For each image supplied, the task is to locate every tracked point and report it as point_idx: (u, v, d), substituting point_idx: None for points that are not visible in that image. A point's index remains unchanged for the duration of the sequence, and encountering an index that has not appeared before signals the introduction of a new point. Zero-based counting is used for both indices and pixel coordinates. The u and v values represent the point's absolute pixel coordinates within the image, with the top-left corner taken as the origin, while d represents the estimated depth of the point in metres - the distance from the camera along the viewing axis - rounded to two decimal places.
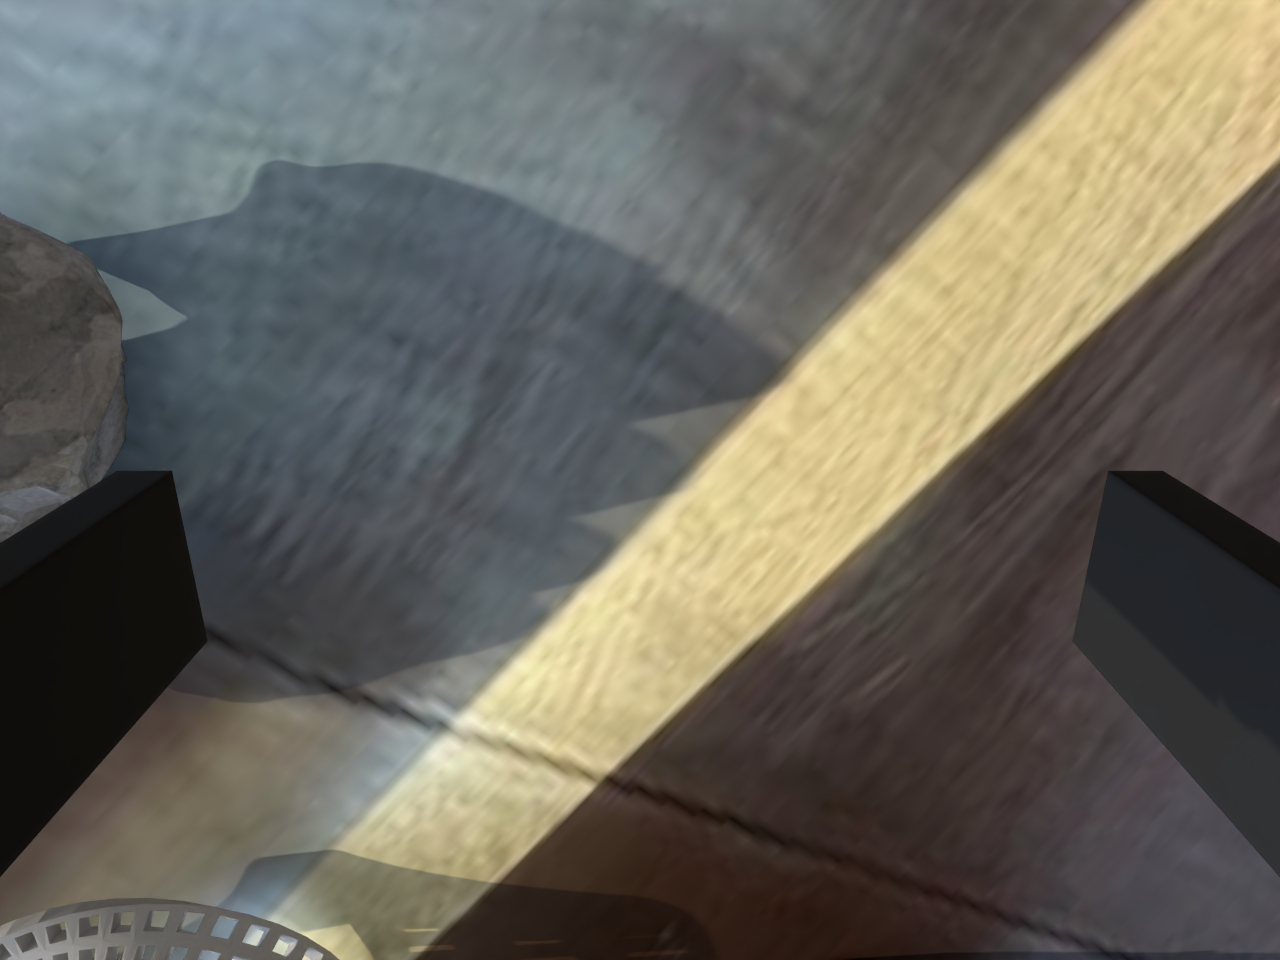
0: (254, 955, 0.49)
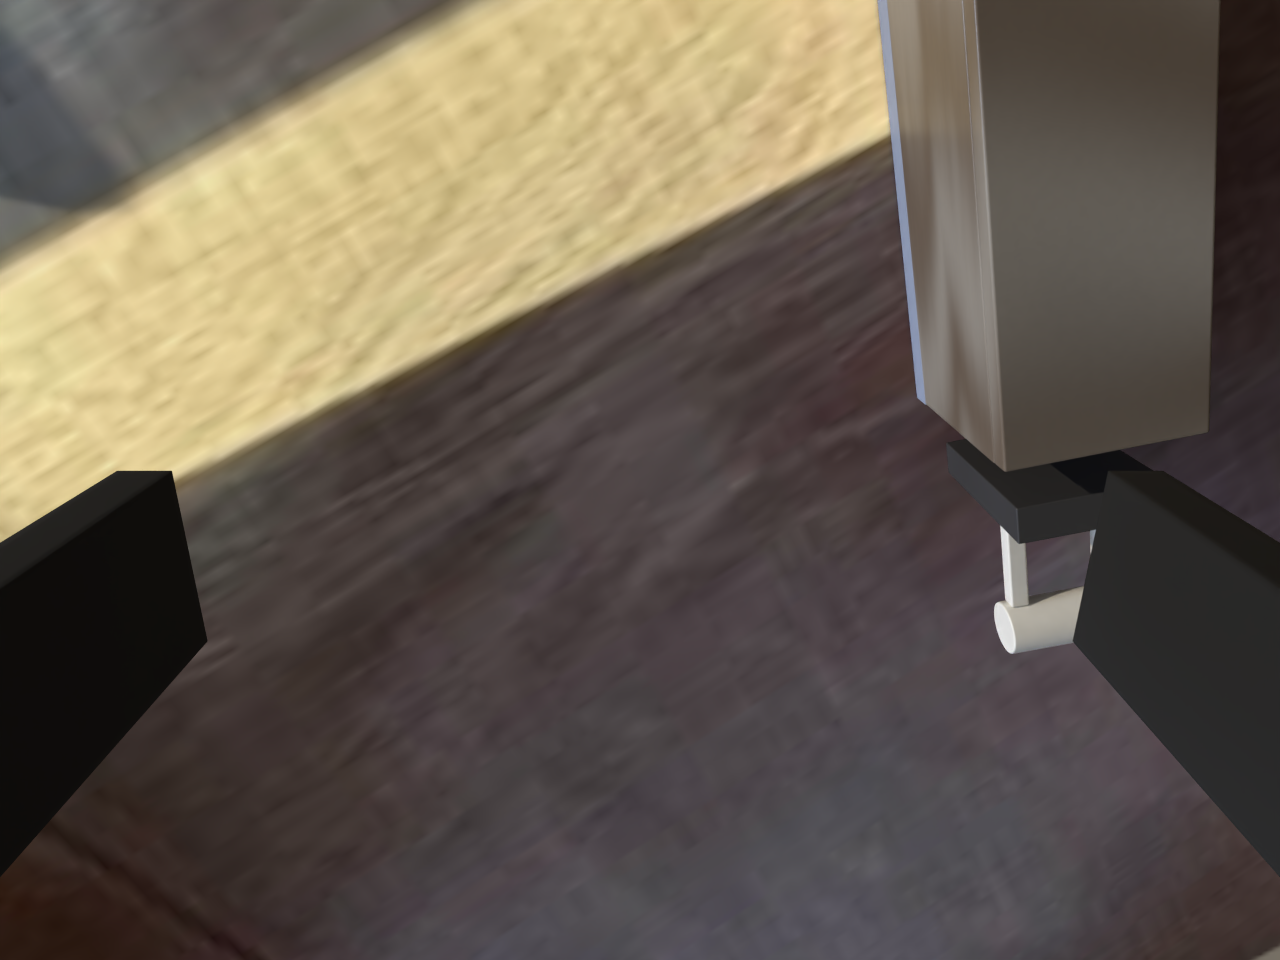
0: None
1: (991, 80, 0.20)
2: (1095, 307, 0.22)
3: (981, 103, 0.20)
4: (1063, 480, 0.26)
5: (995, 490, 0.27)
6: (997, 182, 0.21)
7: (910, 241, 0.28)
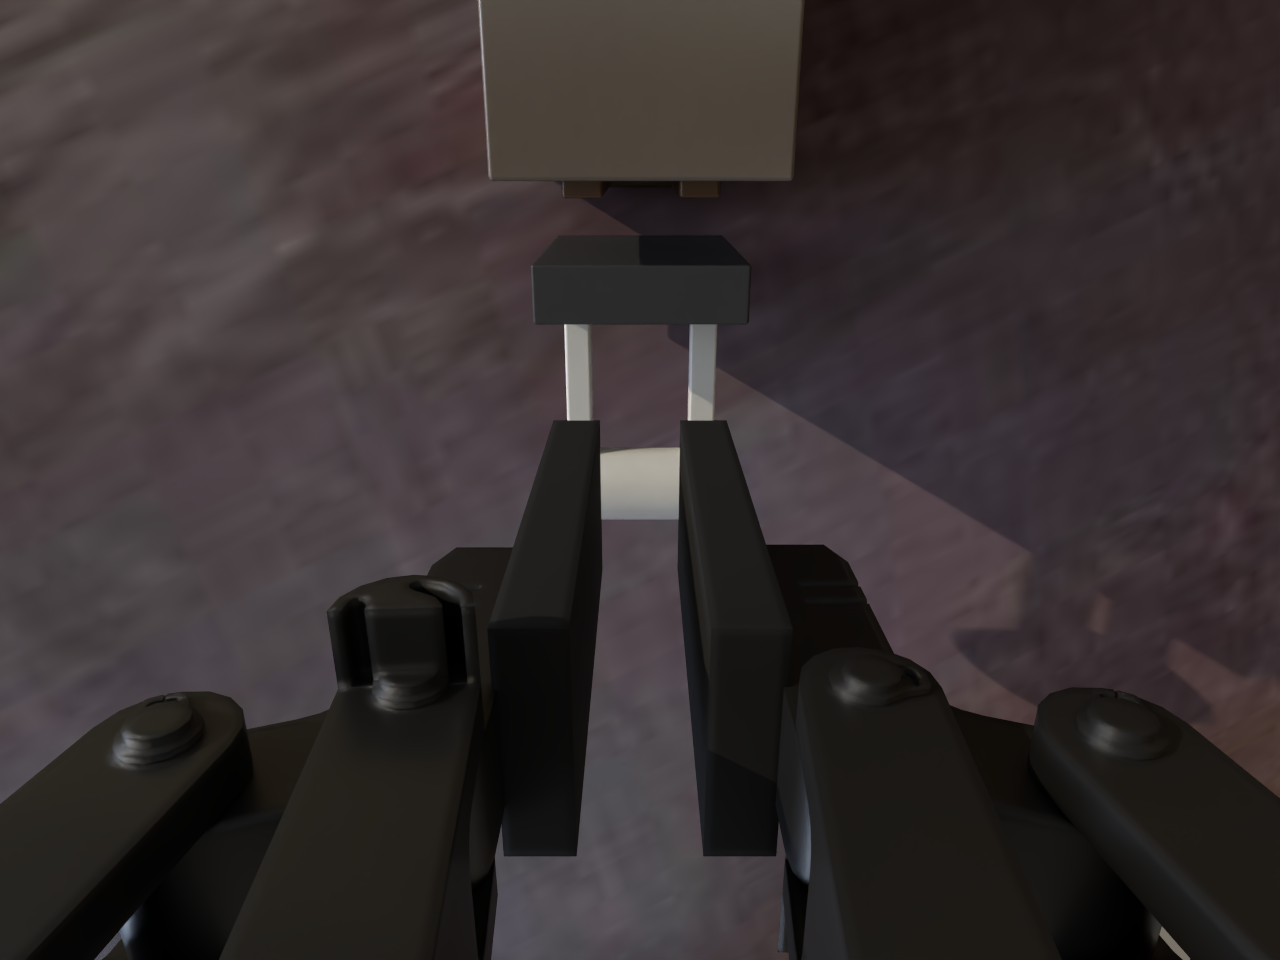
0: None
1: None
2: None
3: None
4: (629, 257, 0.18)
5: (539, 257, 0.19)
6: None
7: None
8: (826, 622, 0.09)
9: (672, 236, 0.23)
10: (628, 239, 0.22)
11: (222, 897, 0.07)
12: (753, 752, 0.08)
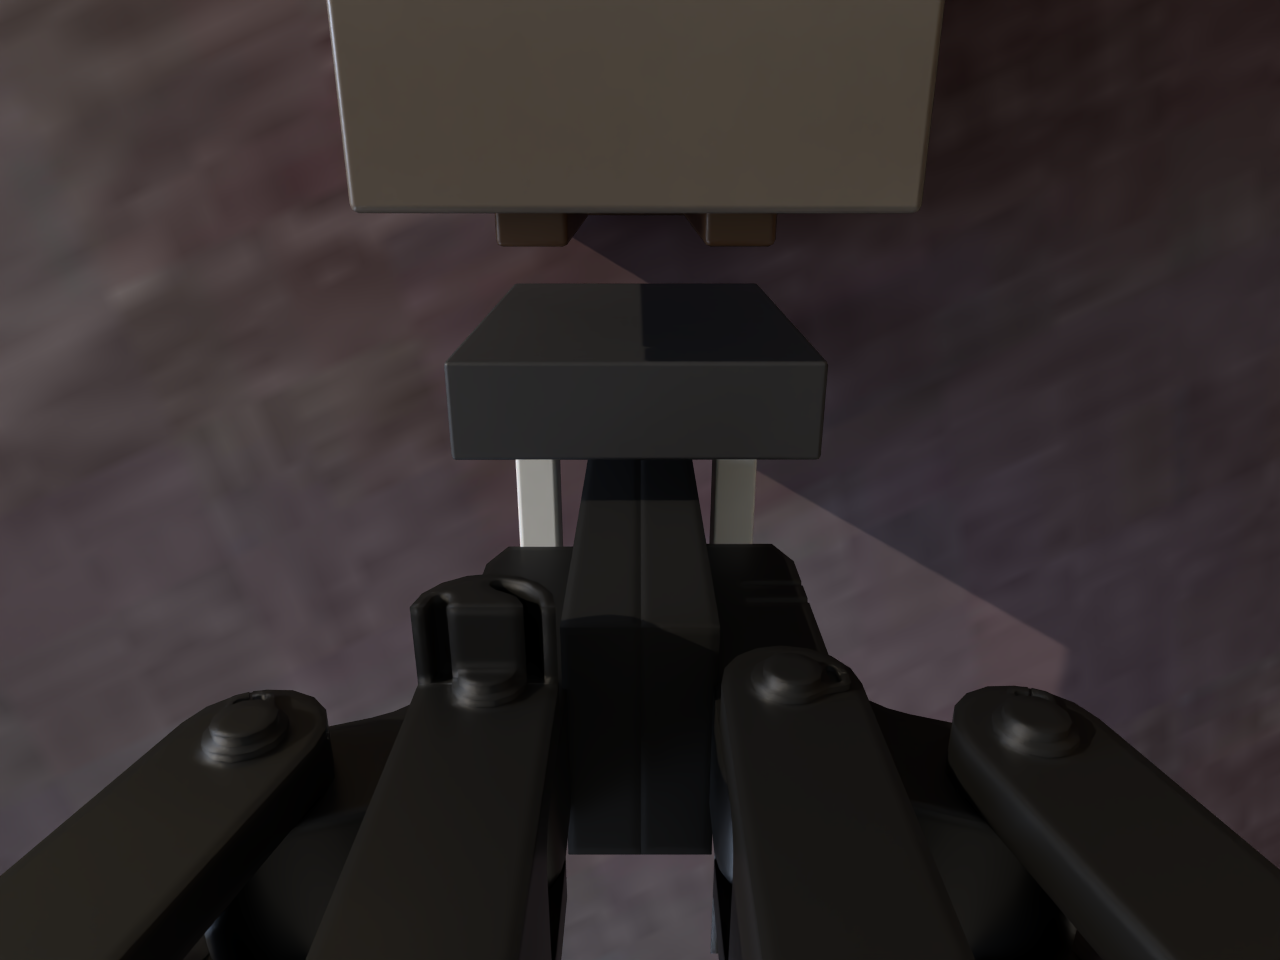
0: None
1: None
2: None
3: None
4: (617, 337, 0.11)
5: (469, 337, 0.11)
6: None
7: None
8: (764, 621, 0.09)
9: (683, 285, 0.15)
10: (618, 292, 0.14)
11: (308, 895, 0.07)
12: (685, 750, 0.08)
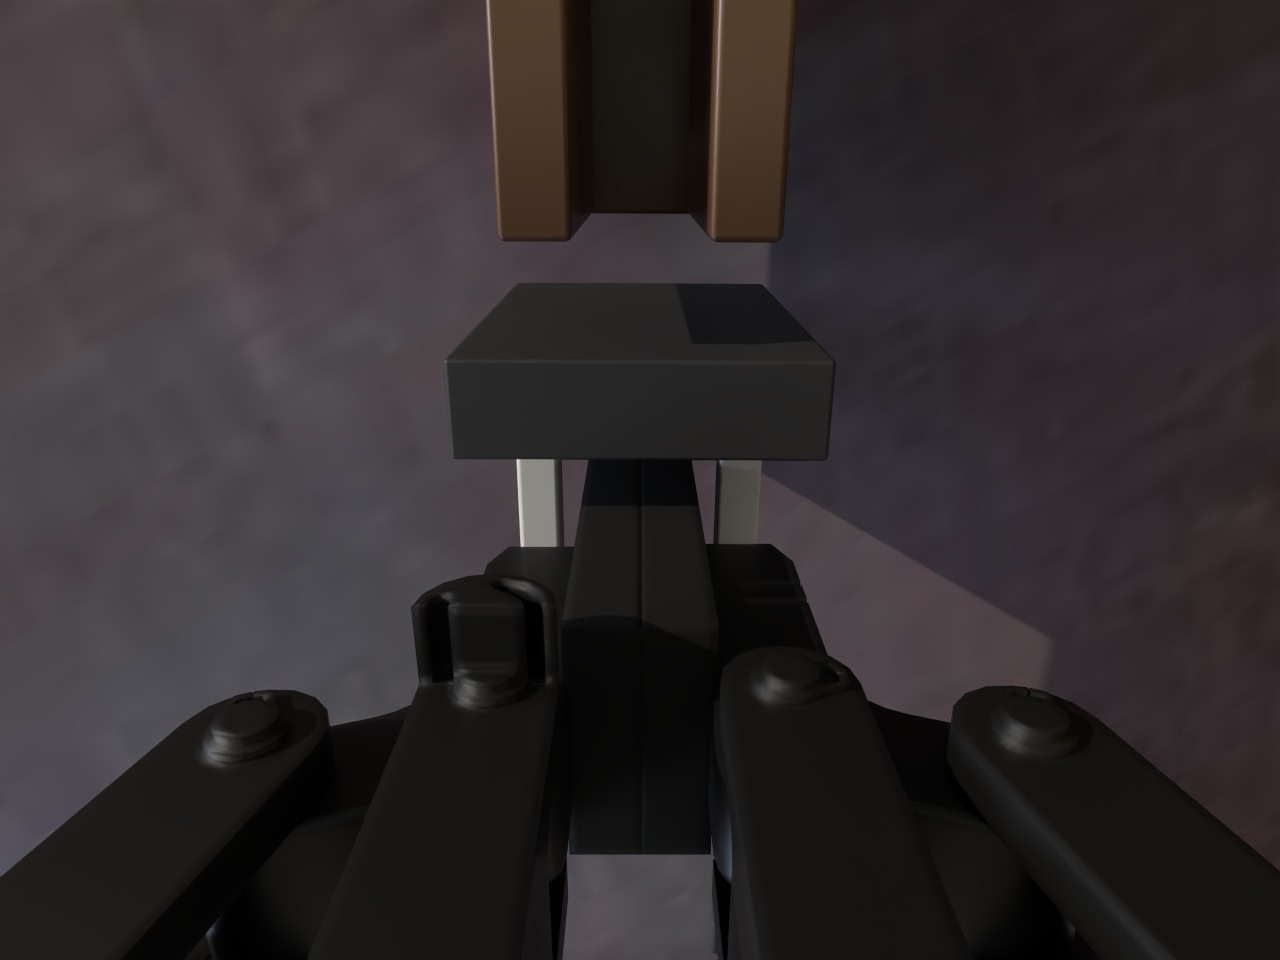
0: None
1: None
2: None
3: None
4: (620, 336, 0.11)
5: (469, 335, 0.11)
6: None
7: None
8: (763, 621, 0.09)
9: (688, 285, 0.15)
10: (621, 292, 0.14)
11: (310, 894, 0.07)
12: (684, 750, 0.08)
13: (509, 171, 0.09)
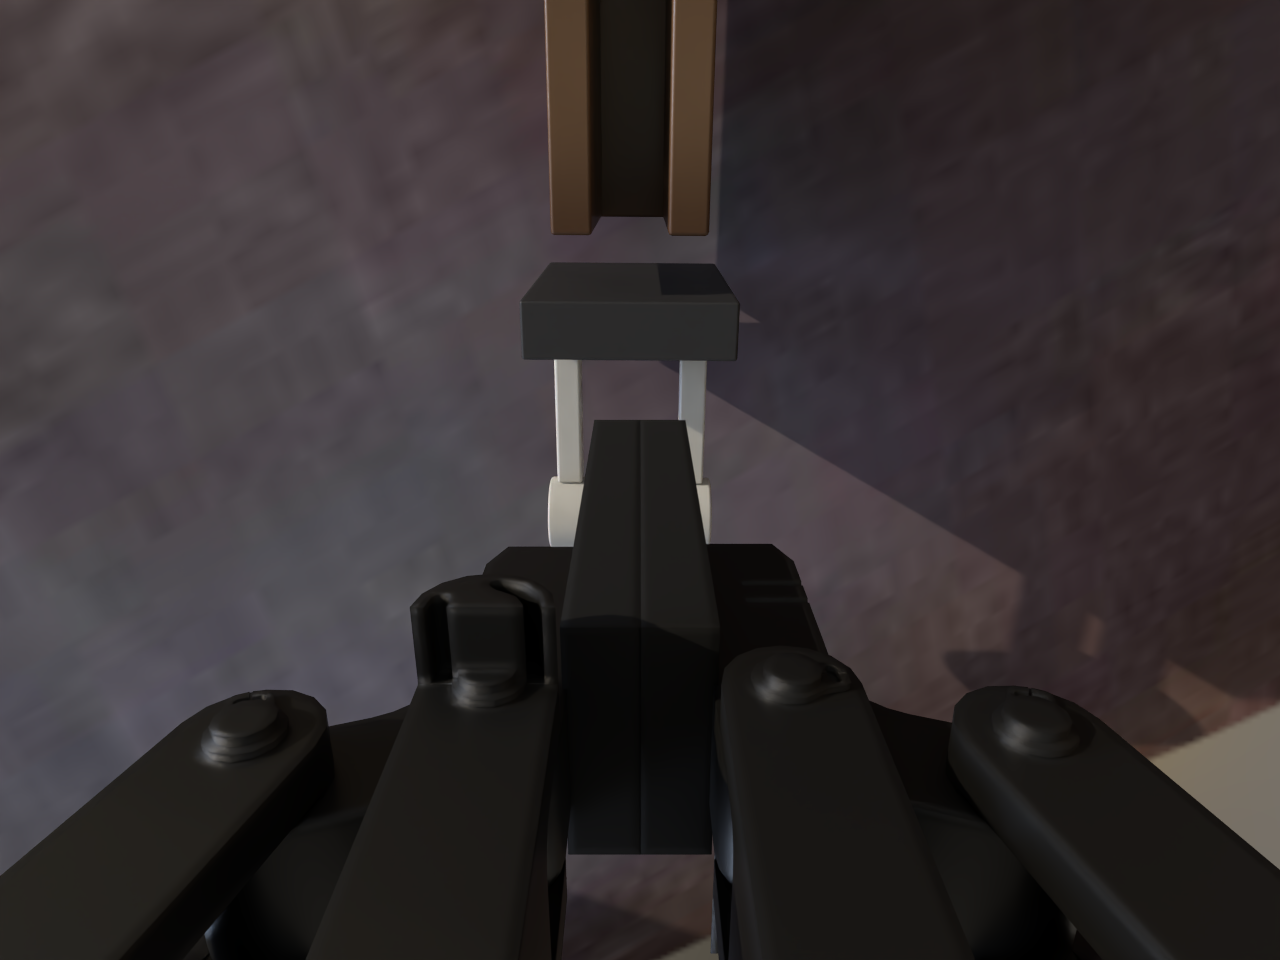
0: None
1: None
2: None
3: None
4: (618, 291, 0.18)
5: None
6: None
7: None
8: (764, 621, 0.09)
9: (664, 264, 0.23)
10: (620, 268, 0.22)
11: (307, 895, 0.07)
12: (685, 750, 0.08)
13: (558, 196, 0.16)
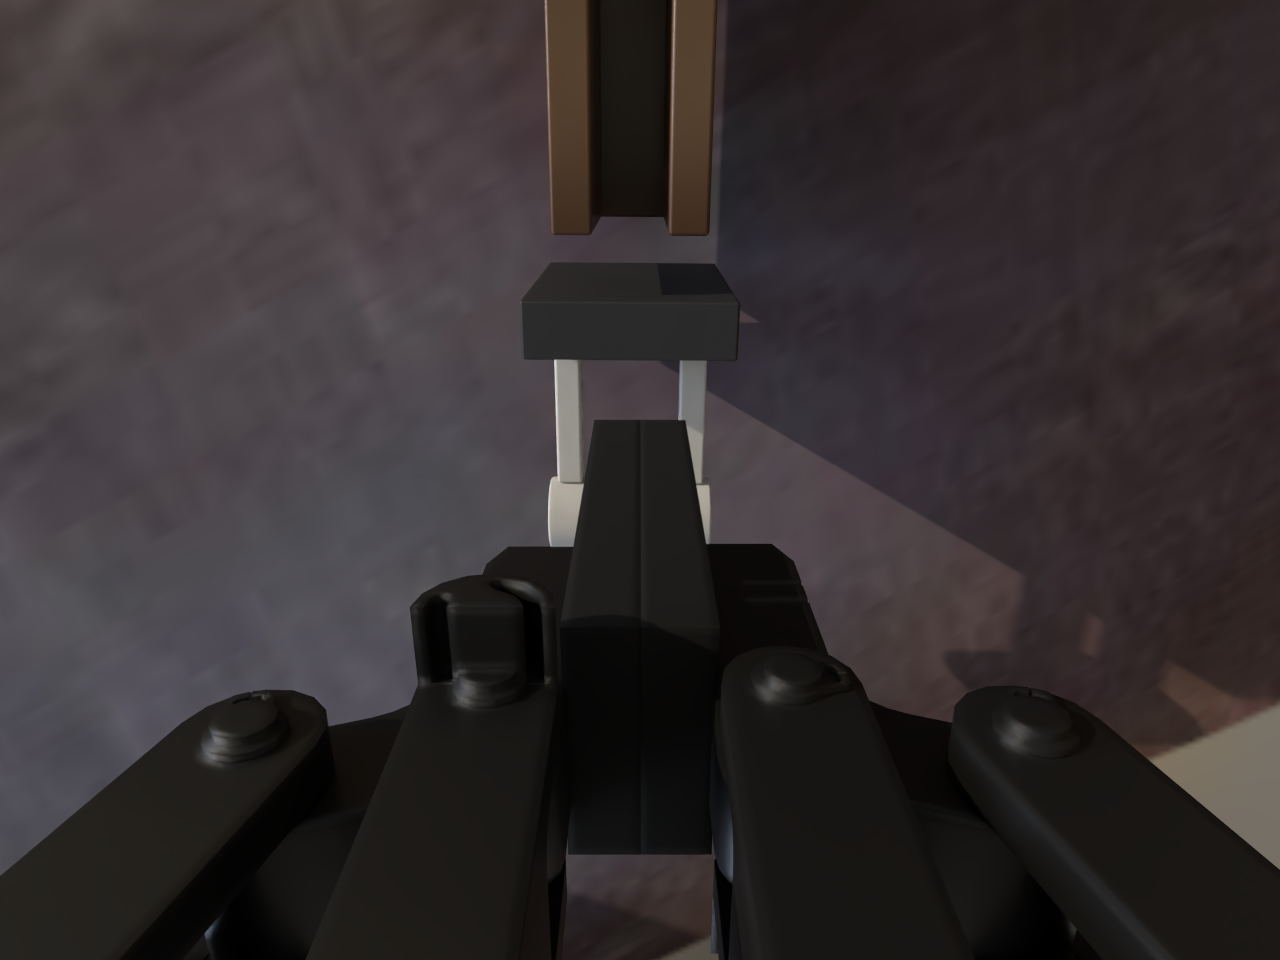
0: None
1: None
2: None
3: None
4: (618, 291, 0.18)
5: (529, 290, 0.19)
6: None
7: None
8: (764, 621, 0.09)
9: (664, 264, 0.23)
10: (620, 268, 0.22)
11: (307, 895, 0.07)
12: (685, 750, 0.08)
13: (558, 196, 0.16)
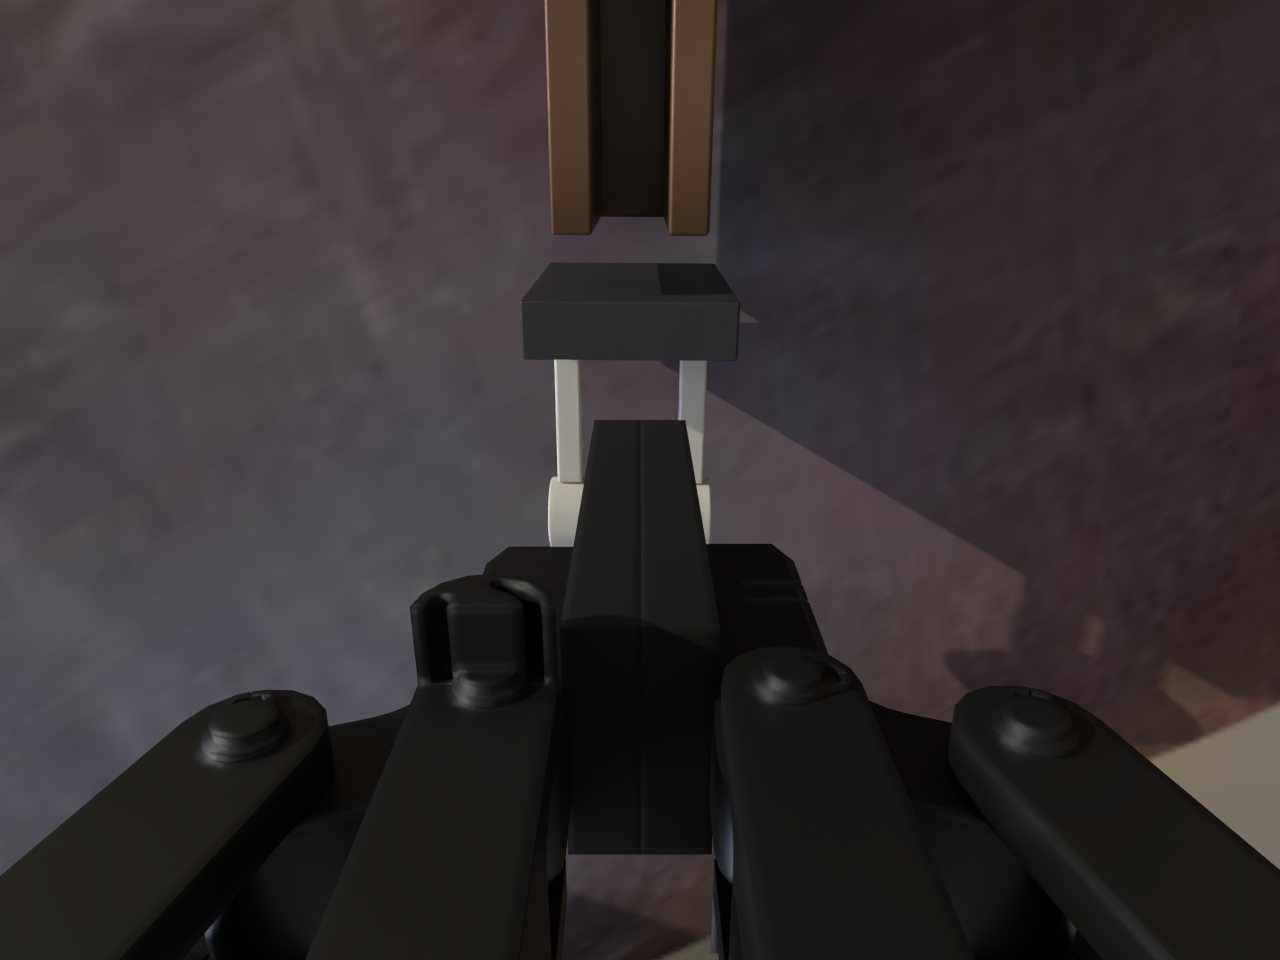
0: None
1: None
2: None
3: None
4: (618, 291, 0.18)
5: (529, 290, 0.19)
6: None
7: None
8: (764, 621, 0.09)
9: (664, 264, 0.23)
10: (620, 268, 0.22)
11: (307, 895, 0.07)
12: (685, 750, 0.08)
13: (558, 196, 0.16)
